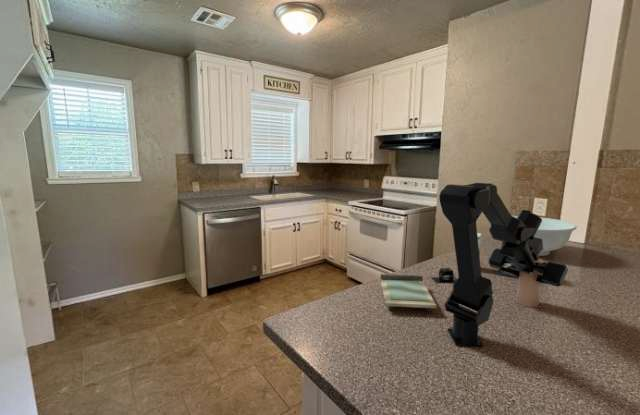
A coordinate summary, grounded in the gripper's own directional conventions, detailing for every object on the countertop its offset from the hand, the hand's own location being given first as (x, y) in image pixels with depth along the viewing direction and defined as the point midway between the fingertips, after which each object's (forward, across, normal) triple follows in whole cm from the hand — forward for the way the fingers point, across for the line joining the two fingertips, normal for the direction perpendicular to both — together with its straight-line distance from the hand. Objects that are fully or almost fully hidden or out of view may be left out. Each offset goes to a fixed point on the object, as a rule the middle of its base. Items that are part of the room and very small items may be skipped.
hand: (531, 280), depth 91 cm
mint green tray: (-17, +22, +27) cm, 39 cm away
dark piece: (+1, +25, +10) cm, 27 cm away
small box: (+19, +13, -8) cm, 24 cm away
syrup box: (+14, +26, -3) cm, 30 cm away
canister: (+4, 0, +6) cm, 7 cm away
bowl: (+45, +23, -34) cm, 61 cm away
